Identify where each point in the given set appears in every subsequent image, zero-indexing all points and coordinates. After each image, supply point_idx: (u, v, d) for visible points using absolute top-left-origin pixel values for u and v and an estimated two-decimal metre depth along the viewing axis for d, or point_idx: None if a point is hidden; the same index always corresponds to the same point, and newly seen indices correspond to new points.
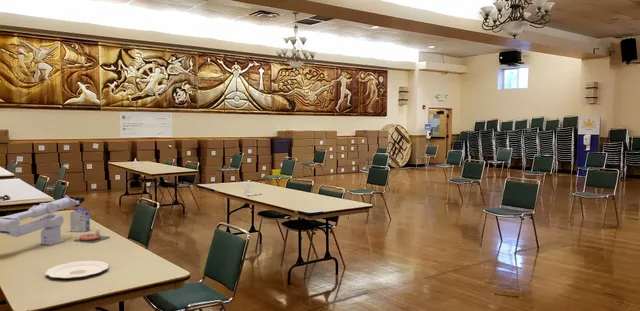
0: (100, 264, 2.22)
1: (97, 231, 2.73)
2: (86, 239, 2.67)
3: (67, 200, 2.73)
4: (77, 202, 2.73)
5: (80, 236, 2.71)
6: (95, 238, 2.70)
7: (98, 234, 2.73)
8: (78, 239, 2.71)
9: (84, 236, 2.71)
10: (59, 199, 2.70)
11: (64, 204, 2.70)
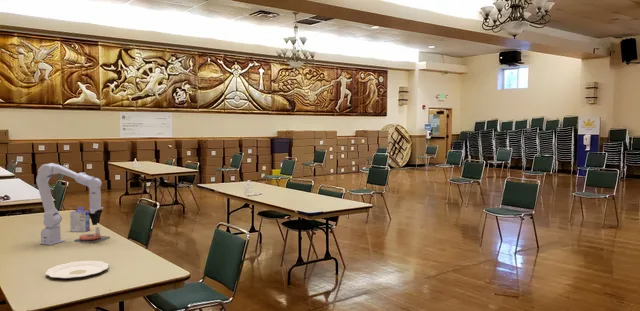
0: (100, 264, 2.22)
1: (97, 231, 2.73)
2: (86, 239, 2.67)
3: (97, 205, 2.67)
4: (92, 211, 2.62)
5: (80, 236, 2.71)
6: (95, 238, 2.70)
7: (98, 234, 2.73)
8: (78, 239, 2.71)
9: (84, 236, 2.71)
10: (100, 199, 2.69)
11: (94, 200, 2.66)
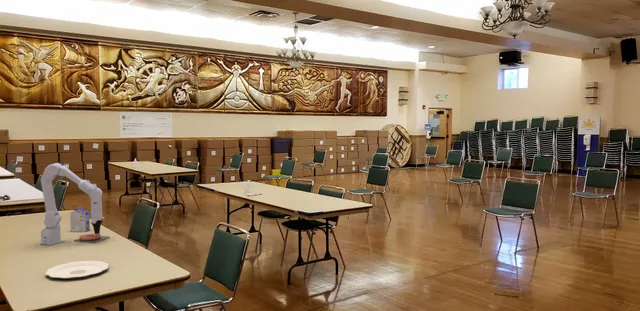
0: (100, 264, 2.22)
1: None
2: (86, 239, 2.67)
3: (98, 215, 2.70)
4: (94, 220, 2.65)
5: (80, 236, 2.71)
6: (95, 238, 2.70)
7: (98, 234, 2.73)
8: (78, 239, 2.71)
9: (84, 236, 2.71)
10: (101, 209, 2.72)
11: (95, 210, 2.69)
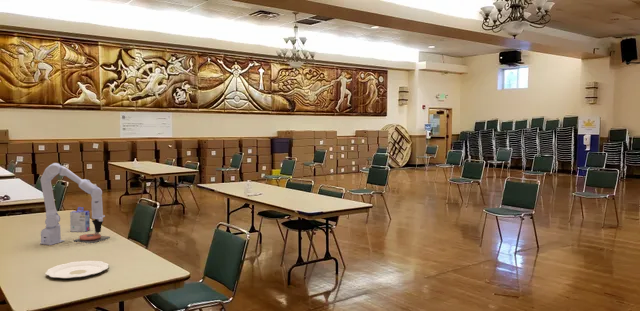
0: (100, 264, 2.22)
1: None
2: (94, 238, 2.69)
3: (101, 214, 2.73)
4: (101, 219, 2.69)
5: (82, 237, 2.68)
6: (100, 236, 2.73)
7: (98, 233, 2.76)
8: (78, 239, 2.71)
9: (86, 236, 2.70)
10: None
11: (98, 209, 2.72)
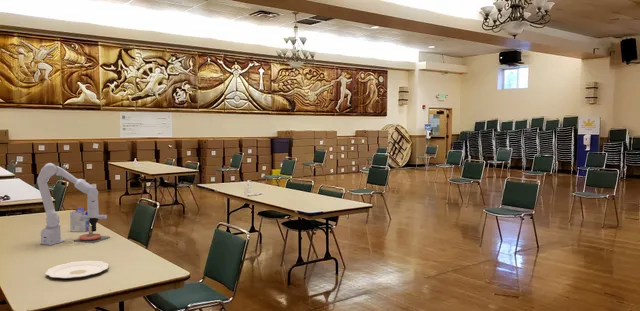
0: (100, 264, 2.22)
1: None
2: (100, 236, 2.74)
3: None
4: (106, 216, 2.77)
5: (90, 237, 2.69)
6: None
7: None
8: (78, 239, 2.71)
9: (91, 236, 2.71)
10: None
11: None
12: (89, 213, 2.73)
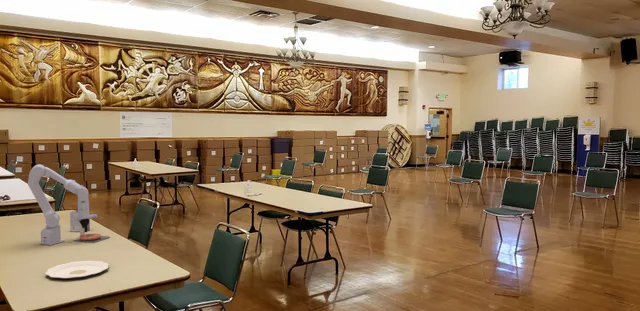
0: (100, 264, 2.22)
1: None
2: None
3: None
4: None
5: (99, 234, 2.75)
6: None
7: None
8: (78, 239, 2.71)
9: (95, 235, 2.75)
10: None
11: None
12: (84, 214, 2.70)
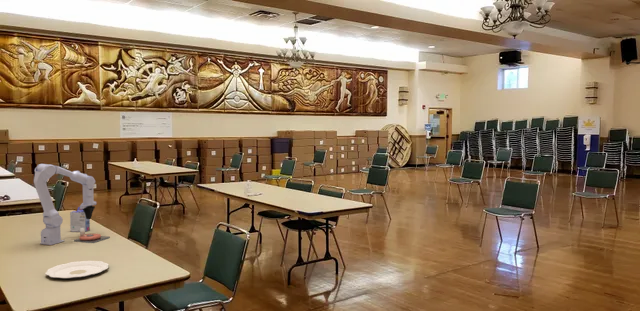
0: (100, 264, 2.22)
1: None
2: None
3: None
4: None
5: (99, 234, 2.75)
6: None
7: None
8: (78, 239, 2.71)
9: (95, 235, 2.75)
10: (83, 196, 2.83)
11: None
12: (91, 200, 2.82)
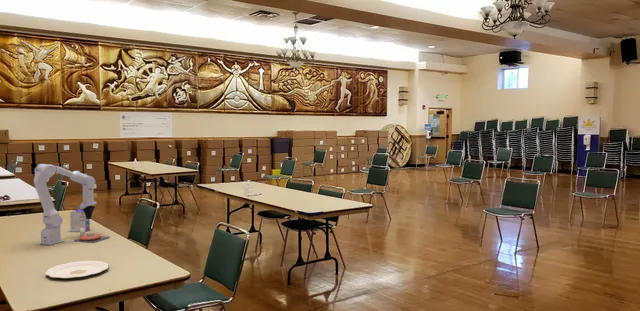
0: (100, 264, 2.22)
1: None
2: None
3: None
4: None
5: (99, 234, 2.75)
6: None
7: None
8: (78, 239, 2.71)
9: (95, 235, 2.75)
10: (83, 196, 2.83)
11: None
12: (91, 200, 2.82)
